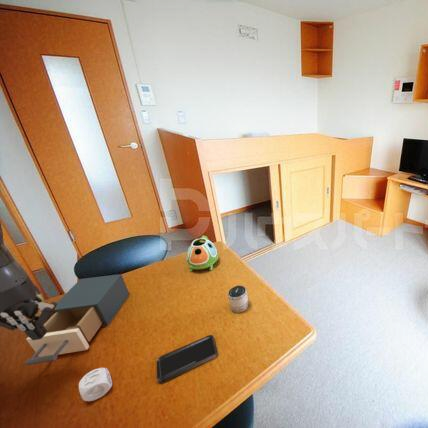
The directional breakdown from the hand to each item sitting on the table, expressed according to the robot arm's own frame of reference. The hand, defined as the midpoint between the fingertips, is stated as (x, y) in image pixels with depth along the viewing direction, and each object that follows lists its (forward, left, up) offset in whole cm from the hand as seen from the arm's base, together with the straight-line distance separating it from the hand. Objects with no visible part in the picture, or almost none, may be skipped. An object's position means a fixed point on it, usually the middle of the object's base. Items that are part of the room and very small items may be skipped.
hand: (40, 336), depth 59 cm
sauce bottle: (-19, +21, -14) cm, 31 cm away
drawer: (-3, +9, -13) cm, 16 cm away
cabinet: (-3, +22, -14) cm, 26 cm away
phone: (+32, -3, -14) cm, 35 cm away
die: (+12, -7, -14) cm, 20 cm away
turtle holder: (+27, +44, -14) cm, 54 cm away
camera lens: (+45, +14, -14) cm, 49 cm away
